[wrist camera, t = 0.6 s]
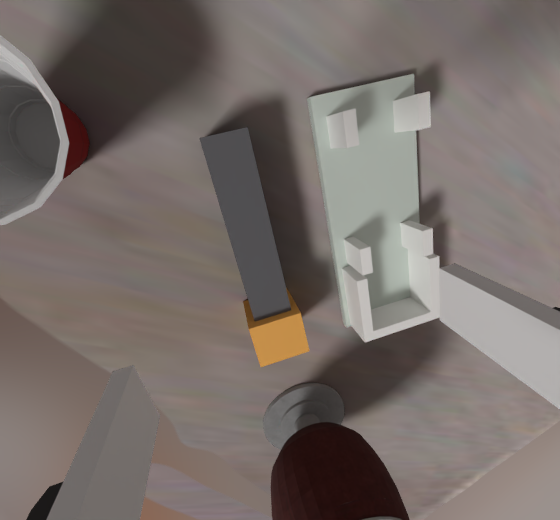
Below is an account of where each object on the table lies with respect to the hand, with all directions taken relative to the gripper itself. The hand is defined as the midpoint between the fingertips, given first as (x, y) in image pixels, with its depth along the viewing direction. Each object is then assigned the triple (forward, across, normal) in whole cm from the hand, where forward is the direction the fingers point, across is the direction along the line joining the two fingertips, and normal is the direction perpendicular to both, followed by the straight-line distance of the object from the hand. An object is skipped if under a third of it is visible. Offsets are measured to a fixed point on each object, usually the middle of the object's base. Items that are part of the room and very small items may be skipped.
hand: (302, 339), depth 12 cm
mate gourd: (+22, 0, -30) cm, 37 cm away
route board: (+21, +14, -3) cm, 26 cm away
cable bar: (+22, 0, -2) cm, 22 cm away
